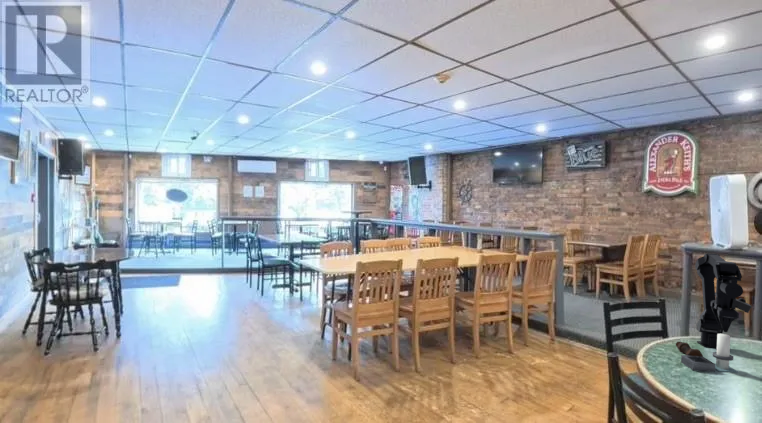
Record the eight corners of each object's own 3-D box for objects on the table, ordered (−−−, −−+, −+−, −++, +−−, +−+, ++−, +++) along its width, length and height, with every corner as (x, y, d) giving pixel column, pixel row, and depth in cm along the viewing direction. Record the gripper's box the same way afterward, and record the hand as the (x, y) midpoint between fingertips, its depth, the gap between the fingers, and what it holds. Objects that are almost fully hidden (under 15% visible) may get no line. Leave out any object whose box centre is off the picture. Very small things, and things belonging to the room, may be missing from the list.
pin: (707, 364, 169) (709, 332, 169) (721, 363, 170) (723, 332, 169) (722, 371, 163) (724, 338, 162) (737, 370, 164) (738, 337, 163)
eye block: (681, 362, 172) (681, 355, 172) (702, 363, 171) (702, 356, 171) (692, 370, 164) (693, 362, 164) (715, 371, 163) (715, 364, 163)
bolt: (681, 353, 187) (697, 365, 172) (670, 346, 188) (685, 358, 173) (688, 342, 186) (705, 354, 172) (677, 336, 187) (693, 346, 173)
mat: (706, 364, 170) (706, 363, 170) (725, 365, 169) (725, 364, 169) (718, 371, 163) (718, 370, 163) (738, 372, 162) (738, 371, 162)
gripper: (756, 299, 162) (754, 339, 163) (743, 290, 178) (742, 326, 179) (720, 295, 168) (718, 334, 168) (711, 286, 184) (709, 321, 184)
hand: (723, 328), depth 175 cm, fingers open, 9 cm apart
